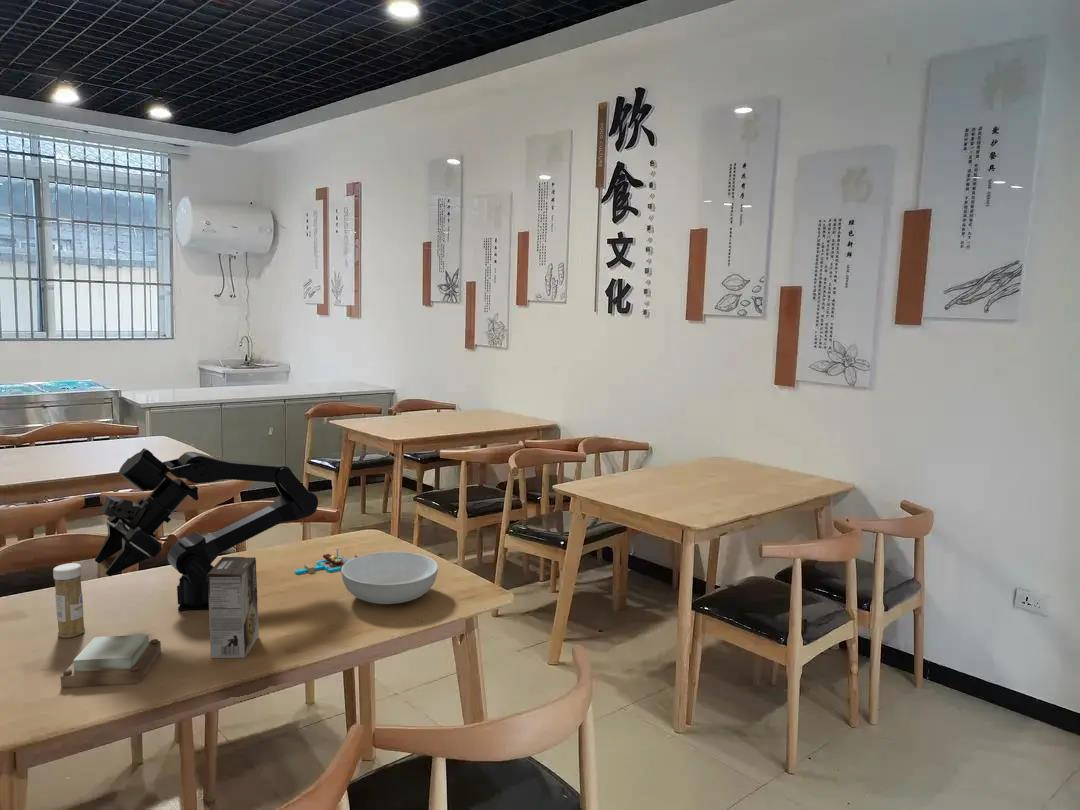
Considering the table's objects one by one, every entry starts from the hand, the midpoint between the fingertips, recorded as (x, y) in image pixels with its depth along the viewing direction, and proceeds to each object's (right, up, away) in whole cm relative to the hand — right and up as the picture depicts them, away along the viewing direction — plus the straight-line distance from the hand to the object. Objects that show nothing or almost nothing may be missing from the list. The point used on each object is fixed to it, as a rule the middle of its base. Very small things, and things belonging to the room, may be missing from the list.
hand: (101, 568), depth 150 cm
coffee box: (+29, -14, -6) cm, 32 cm away
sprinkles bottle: (-5, -12, -2) cm, 13 cm away
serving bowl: (+53, -11, +20) cm, 57 cm away
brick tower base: (+11, -14, -16) cm, 24 cm away
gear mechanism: (+35, -8, +39) cm, 53 cm away
